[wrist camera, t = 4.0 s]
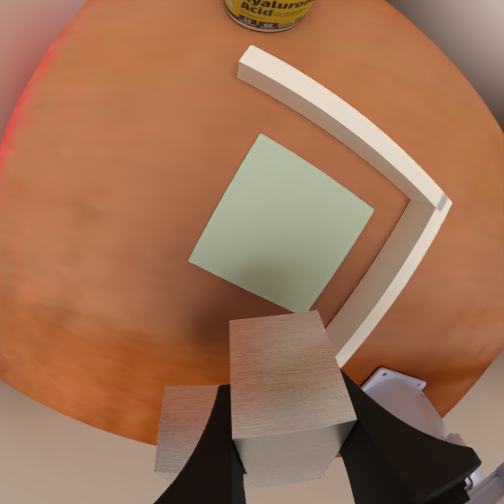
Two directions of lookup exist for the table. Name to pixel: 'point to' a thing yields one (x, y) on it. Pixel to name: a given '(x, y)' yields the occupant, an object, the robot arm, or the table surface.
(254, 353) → the bracket
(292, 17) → the supplement bottle
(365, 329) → the arena
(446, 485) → the robot arm
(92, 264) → the table surface
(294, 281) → the mat
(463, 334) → the table surface
